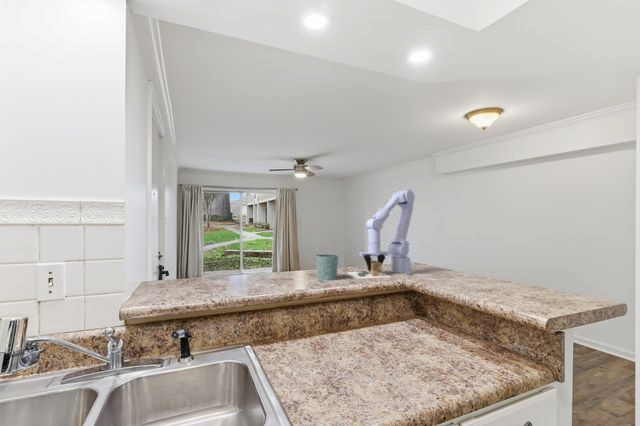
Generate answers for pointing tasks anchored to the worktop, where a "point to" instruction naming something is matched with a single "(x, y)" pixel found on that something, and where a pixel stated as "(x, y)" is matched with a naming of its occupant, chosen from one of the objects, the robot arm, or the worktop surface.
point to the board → (355, 275)
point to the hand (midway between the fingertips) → (374, 270)
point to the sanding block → (375, 268)
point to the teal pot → (327, 267)
